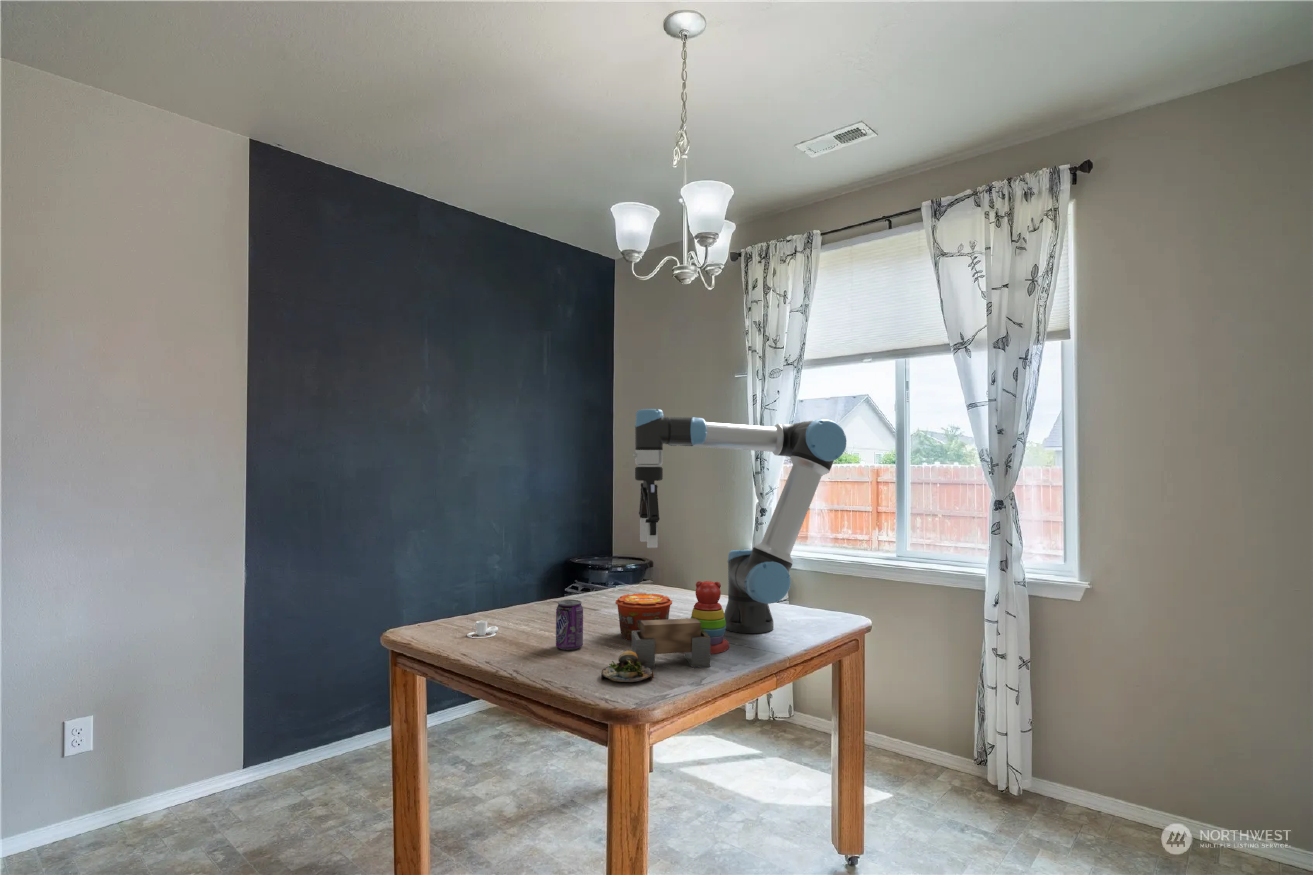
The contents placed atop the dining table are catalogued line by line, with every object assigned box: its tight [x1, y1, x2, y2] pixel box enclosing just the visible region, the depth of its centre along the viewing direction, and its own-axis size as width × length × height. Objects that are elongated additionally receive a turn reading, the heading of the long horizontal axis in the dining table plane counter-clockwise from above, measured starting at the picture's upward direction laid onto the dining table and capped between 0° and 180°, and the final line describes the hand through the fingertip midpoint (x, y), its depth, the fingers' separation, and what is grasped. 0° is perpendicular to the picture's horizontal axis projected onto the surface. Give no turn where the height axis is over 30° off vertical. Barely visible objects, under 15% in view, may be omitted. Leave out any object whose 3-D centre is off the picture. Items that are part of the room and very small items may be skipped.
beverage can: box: [555, 599, 584, 651], centre depth 182 cm, size 7×7×12 cm
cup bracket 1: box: [631, 630, 656, 670], centre depth 168 cm, size 4×9×7 cm, turn 9°
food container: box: [615, 592, 673, 642], centre depth 194 cm, size 16×16×11 cm
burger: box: [600, 647, 655, 683], centre depth 157 cm, size 12×12×8 cm
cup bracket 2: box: [684, 628, 711, 669], centre depth 170 cm, size 4×9×7 cm, turn 9°
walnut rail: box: [641, 617, 701, 655], centre depth 169 cm, size 14×5×7 cm, turn 102°
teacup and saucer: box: [466, 620, 499, 639], centre depth 195 cm, size 9×8×4 cm
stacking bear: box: [690, 580, 730, 655], centre depth 182 cm, size 11×10×18 cm
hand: (648, 544), depth 187 cm, fingers open, 13 cm apart
